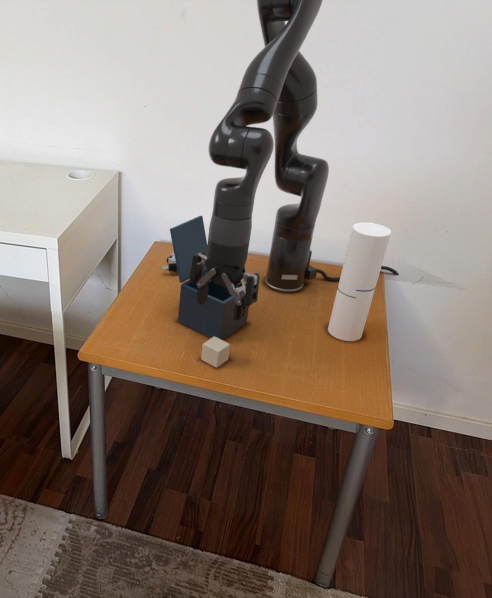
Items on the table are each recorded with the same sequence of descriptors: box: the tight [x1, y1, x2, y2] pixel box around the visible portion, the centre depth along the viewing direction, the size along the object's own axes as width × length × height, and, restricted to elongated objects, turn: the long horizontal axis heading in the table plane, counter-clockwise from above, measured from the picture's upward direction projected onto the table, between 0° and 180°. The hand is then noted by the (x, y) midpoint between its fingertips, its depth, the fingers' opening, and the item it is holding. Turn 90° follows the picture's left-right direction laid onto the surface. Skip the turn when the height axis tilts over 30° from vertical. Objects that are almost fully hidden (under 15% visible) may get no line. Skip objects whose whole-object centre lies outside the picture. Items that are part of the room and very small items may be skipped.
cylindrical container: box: [327, 221, 392, 342], centre depth 122 cm, size 7×7×25 cm
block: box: [200, 336, 231, 369], centre depth 119 cm, size 4×4×4 cm
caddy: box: [177, 270, 250, 341], centre depth 129 cm, size 12×11×10 cm
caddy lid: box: [169, 215, 208, 284], centre depth 129 cm, size 12×11×1 cm
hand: (219, 310), depth 114 cm, fingers open, 8 cm apart
